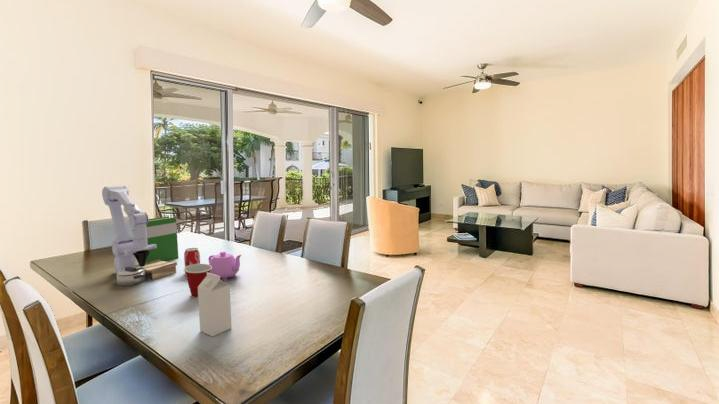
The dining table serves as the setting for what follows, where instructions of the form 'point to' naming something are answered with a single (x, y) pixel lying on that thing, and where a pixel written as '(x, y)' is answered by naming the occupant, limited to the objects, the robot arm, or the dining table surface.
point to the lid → (130, 271)
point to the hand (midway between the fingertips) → (142, 266)
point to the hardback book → (162, 239)
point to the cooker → (131, 279)
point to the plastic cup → (196, 276)
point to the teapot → (224, 265)
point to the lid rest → (159, 268)
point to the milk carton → (214, 305)
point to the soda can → (191, 256)
